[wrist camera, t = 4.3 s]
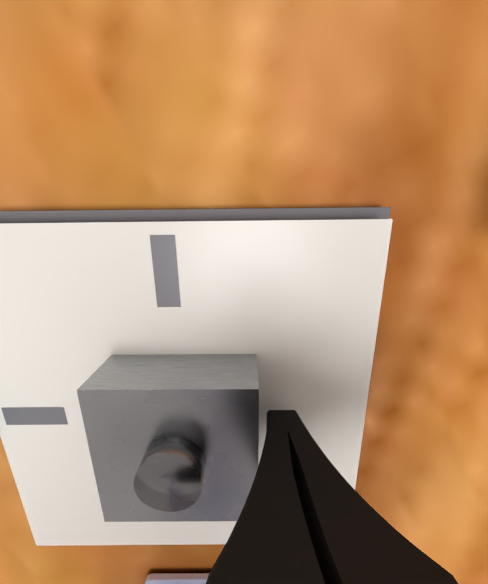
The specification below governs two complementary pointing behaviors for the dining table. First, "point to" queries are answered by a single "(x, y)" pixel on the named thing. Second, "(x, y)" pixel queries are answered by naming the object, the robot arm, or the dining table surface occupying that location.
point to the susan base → (194, 215)
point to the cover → (173, 435)
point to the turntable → (179, 341)
